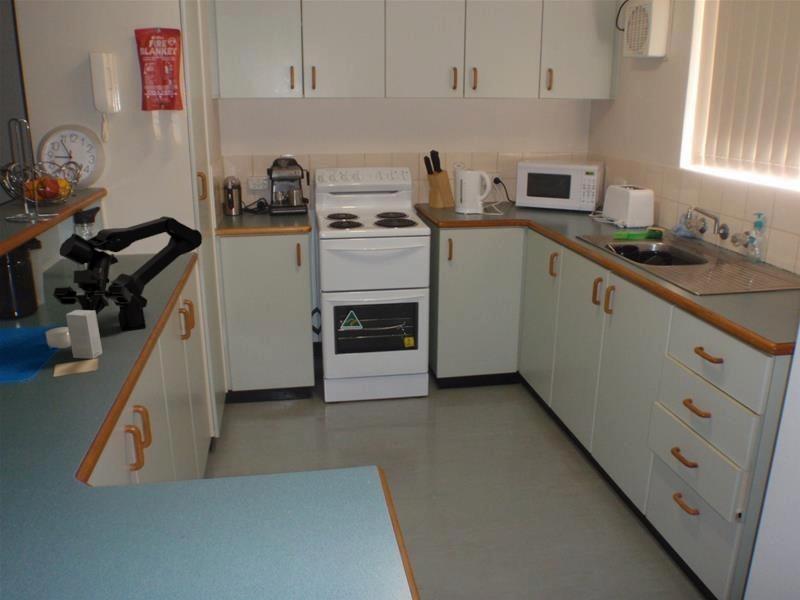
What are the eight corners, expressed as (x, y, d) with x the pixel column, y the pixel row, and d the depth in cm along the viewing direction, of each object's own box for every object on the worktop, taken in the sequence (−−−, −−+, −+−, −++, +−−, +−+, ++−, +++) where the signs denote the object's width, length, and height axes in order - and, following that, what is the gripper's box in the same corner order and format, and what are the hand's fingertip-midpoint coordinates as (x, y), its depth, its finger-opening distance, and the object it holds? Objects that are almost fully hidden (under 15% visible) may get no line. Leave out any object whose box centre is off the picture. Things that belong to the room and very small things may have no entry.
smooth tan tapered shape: (98, 360, 180) (98, 358, 180) (98, 372, 173) (97, 369, 173) (55, 366, 177) (55, 364, 177) (53, 378, 170) (53, 376, 170)
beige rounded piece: (74, 339, 195) (72, 325, 193) (73, 347, 189) (71, 333, 188) (49, 342, 192) (46, 329, 191) (47, 350, 187) (44, 336, 185)
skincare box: (103, 353, 184) (96, 310, 180) (93, 359, 180) (86, 315, 176) (82, 352, 185) (75, 309, 181) (72, 358, 181) (64, 314, 177)
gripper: (49, 257, 183) (37, 310, 176) (121, 255, 183) (111, 309, 176) (67, 278, 193) (56, 329, 186) (135, 276, 193) (127, 327, 186)
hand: (87, 323), depth 183 cm, fingers closed
